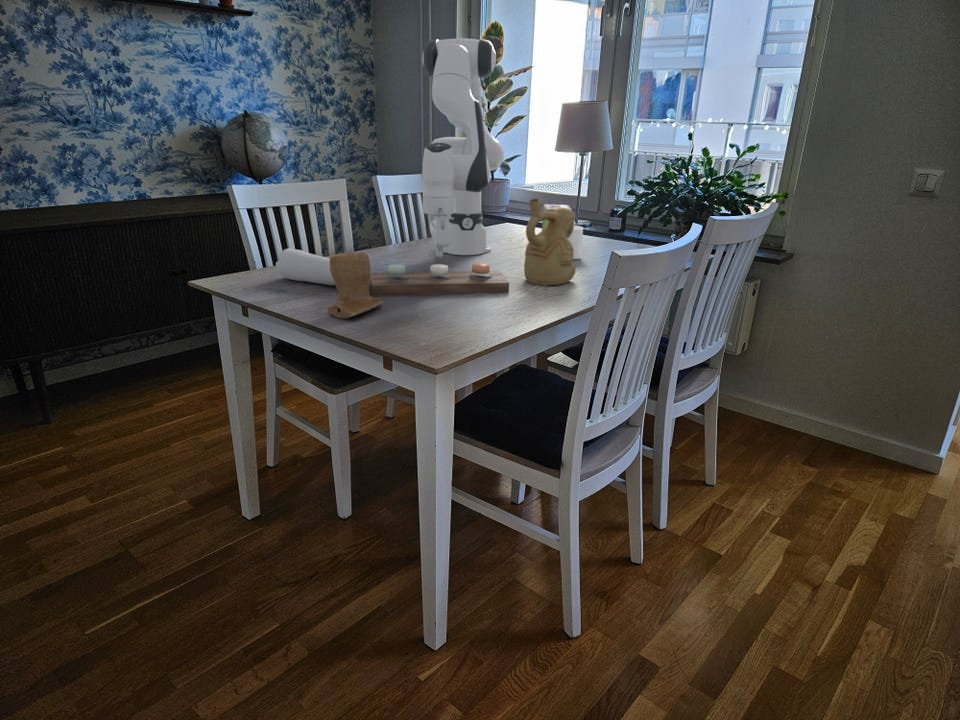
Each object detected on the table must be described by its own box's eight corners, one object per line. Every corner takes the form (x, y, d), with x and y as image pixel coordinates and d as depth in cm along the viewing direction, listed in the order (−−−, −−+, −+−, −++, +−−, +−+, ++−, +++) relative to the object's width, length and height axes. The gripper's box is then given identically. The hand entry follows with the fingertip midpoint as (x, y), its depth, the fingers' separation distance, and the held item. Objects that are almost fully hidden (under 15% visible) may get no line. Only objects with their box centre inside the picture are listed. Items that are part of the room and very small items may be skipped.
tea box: (569, 250, 233) (572, 209, 227) (542, 249, 233) (545, 209, 227) (565, 242, 247) (568, 203, 241) (540, 241, 247) (542, 203, 241)
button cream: (429, 271, 180) (429, 264, 179) (447, 270, 181) (447, 264, 180) (431, 275, 176) (431, 268, 175) (448, 275, 176) (449, 268, 176)
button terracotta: (470, 269, 182) (471, 263, 181) (487, 269, 183) (488, 262, 182) (473, 274, 177) (473, 267, 177) (490, 273, 178) (491, 266, 177)
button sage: (387, 271, 178) (387, 264, 178) (405, 271, 179) (405, 264, 178) (388, 275, 174) (387, 268, 173) (406, 275, 174) (406, 268, 174)
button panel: (372, 283, 183) (372, 272, 182) (499, 280, 189) (499, 269, 188) (372, 296, 171) (371, 284, 169) (508, 292, 176) (509, 281, 175)
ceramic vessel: (588, 281, 190) (595, 197, 181) (545, 292, 178) (551, 202, 168) (546, 271, 202) (551, 191, 192) (503, 280, 189) (506, 196, 180)
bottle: (269, 271, 181) (352, 289, 169) (279, 242, 182) (363, 258, 170) (288, 282, 189) (369, 300, 177) (299, 254, 190) (379, 270, 178)
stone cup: (351, 300, 167) (348, 244, 161) (389, 307, 162) (386, 249, 156) (314, 315, 154) (308, 255, 148) (353, 323, 149) (349, 261, 144)
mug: (549, 260, 215) (550, 229, 211) (560, 254, 225) (562, 224, 221) (572, 263, 212) (575, 232, 208) (583, 257, 222) (586, 226, 218)
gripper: (455, 212, 162) (455, 264, 168) (446, 200, 181) (446, 247, 186) (430, 212, 162) (431, 265, 167) (424, 200, 180) (425, 247, 185)
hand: (439, 255), depth 177 cm, fingers closed
